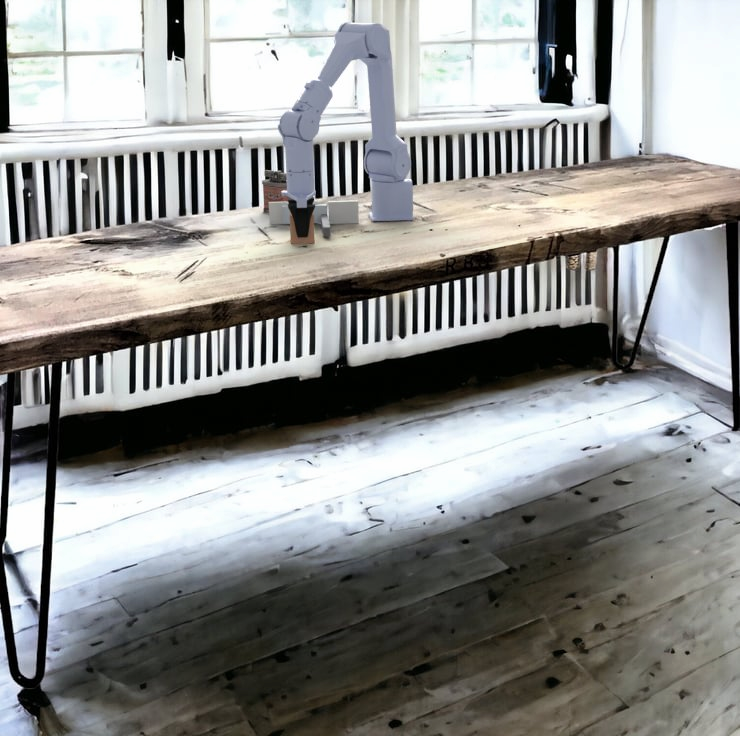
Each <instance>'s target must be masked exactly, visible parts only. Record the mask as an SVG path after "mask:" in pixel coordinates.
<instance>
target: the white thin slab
mask: <svg viewBox="0 0 740 736" xmlns="http://www.w3.org/2000/svg"><path fill="white" fill-rule="evenodd" d="M327 202H328V203H327V214H328V219H329V224H330V225H341V224H342V225H344V224H359V222H360V221H359V219H360V218H359V200H357V199H356V200H328V201H327ZM288 204H289V203H288V202H269V215H268V216H269V217H268V218H269V225H284V224H283V212H282V206H285V205H288ZM313 204H315V205H319V201H318V200H314V202H313Z"/></svg>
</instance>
